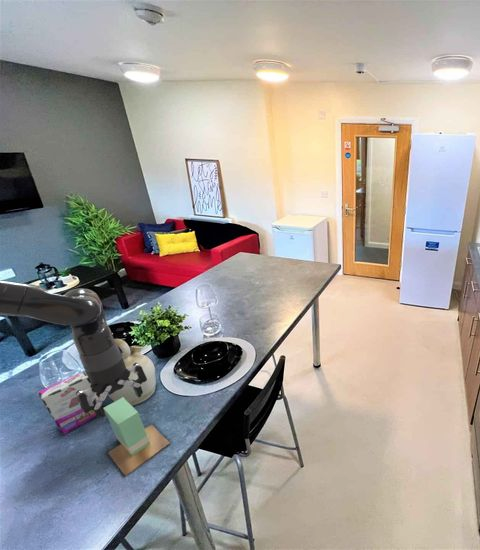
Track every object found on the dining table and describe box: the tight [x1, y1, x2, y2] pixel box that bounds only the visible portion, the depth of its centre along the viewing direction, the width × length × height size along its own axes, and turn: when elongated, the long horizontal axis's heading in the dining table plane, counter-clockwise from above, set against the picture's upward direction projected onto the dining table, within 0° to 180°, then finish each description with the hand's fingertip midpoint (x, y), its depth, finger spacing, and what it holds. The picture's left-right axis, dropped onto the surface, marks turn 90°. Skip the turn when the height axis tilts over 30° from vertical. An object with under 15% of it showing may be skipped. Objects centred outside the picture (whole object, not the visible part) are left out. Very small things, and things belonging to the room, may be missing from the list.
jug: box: [107, 338, 157, 407], centre depth 104 cm, size 15×16×25 cm
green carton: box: [103, 397, 150, 456], centre depth 89 cm, size 5×14×10 cm
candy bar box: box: [37, 370, 105, 436], centre depth 95 cm, size 11×5×16 cm, turn 147°
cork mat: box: [107, 424, 171, 477], centre depth 90 cm, size 12×12×1 cm
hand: (121, 405), depth 82 cm, fingers open, 8 cm apart
